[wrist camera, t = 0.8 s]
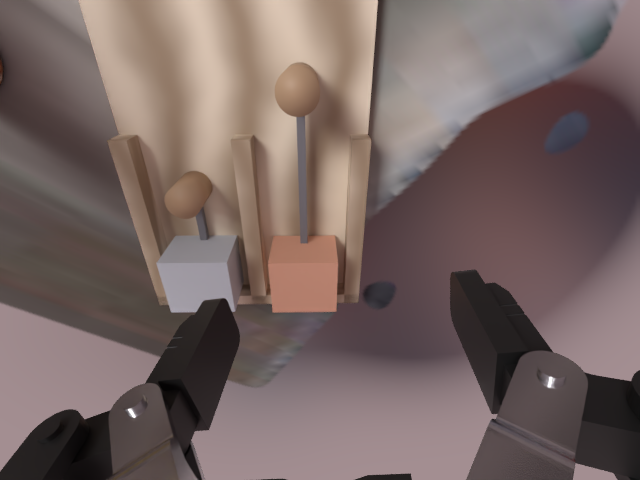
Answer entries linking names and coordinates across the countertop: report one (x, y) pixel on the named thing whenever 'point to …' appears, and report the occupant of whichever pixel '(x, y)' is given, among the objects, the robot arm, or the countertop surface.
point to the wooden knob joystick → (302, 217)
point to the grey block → (198, 252)
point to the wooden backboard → (239, 121)
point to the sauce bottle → (1, 71)
